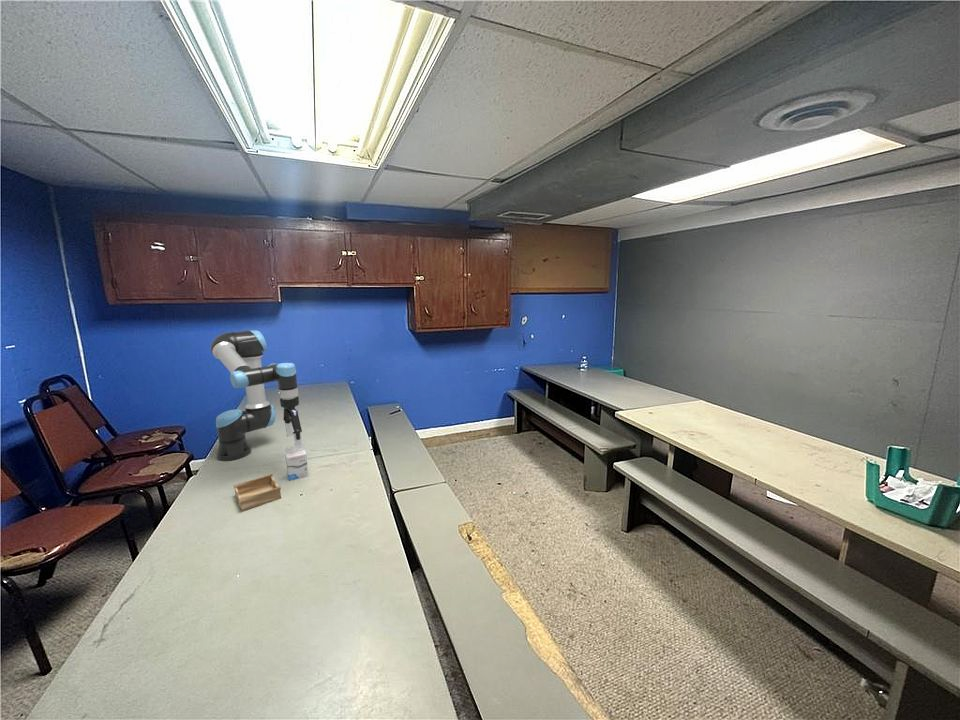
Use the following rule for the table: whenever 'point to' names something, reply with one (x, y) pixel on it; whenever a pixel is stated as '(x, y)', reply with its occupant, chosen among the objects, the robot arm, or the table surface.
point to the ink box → (296, 462)
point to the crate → (257, 492)
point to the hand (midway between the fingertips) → (294, 440)
